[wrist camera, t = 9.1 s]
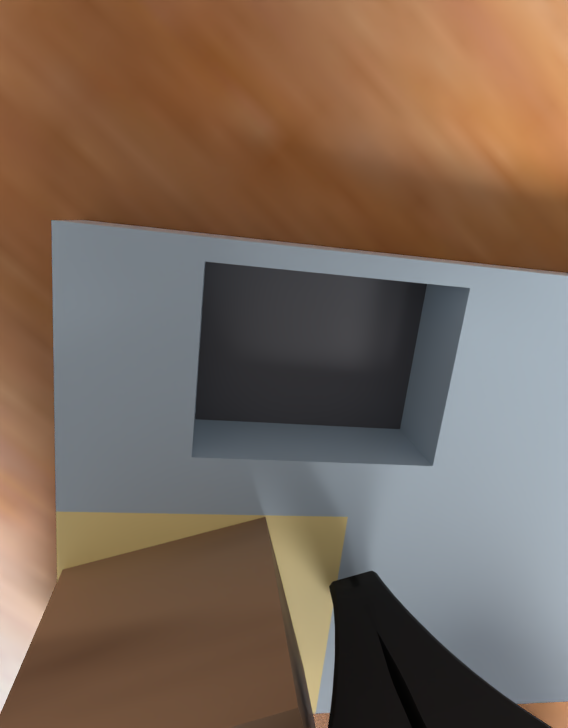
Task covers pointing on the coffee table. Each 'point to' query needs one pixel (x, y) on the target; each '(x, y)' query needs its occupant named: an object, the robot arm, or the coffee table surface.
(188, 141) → the coffee table surface
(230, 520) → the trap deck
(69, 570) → the walnut cube
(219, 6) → the coffee table surface
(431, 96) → the coffee table surface
